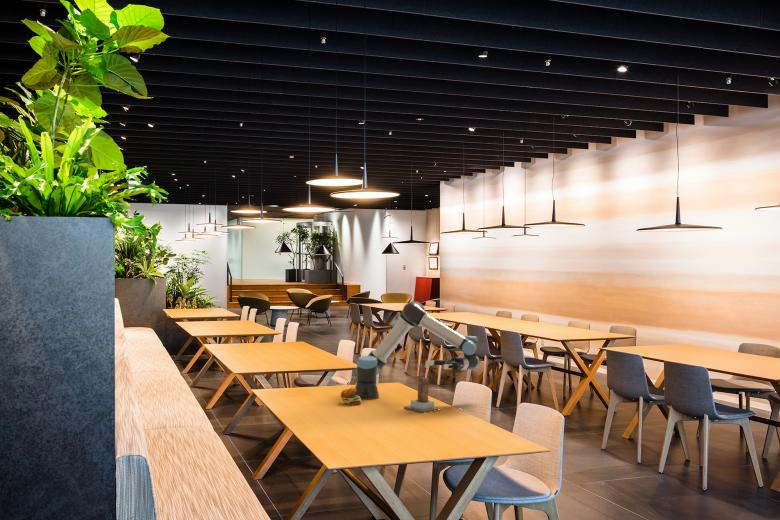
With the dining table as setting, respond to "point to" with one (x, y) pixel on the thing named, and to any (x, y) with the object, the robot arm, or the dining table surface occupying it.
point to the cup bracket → (421, 406)
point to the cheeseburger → (350, 397)
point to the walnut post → (423, 389)
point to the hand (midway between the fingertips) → (434, 365)
